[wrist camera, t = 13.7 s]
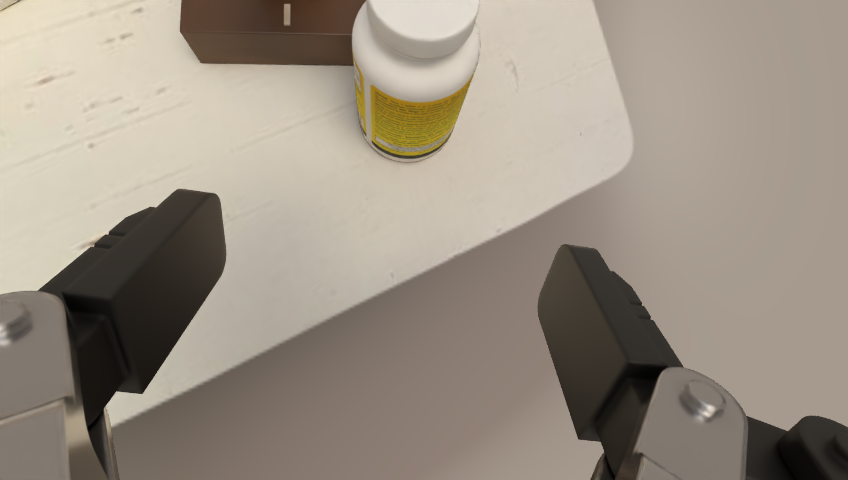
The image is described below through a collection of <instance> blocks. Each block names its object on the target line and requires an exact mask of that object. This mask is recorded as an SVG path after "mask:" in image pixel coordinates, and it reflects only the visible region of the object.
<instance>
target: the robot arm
mask: <svg viewBox="0 0 848 480" xmlns="http://www.w3.org/2000/svg"><path fill="white" fill-rule="evenodd" d="M225 262H226V244H225V236H224V227H223V219H222V210H221V203H220V199H219V197H218V196H217V195H216V194H214V193H208V192H200V191H193V190H186V189H177V190H176V191H174V192H173V193H172V194H171V195H170V196H169V197H168V198H166V199H165V200H164V201H163V202H162V203H161V204H160V205H159V206H157V207H156V208H155V207H149V208H147V209H144V210H142V211H140V212H138V213H135V214H133V215H131V216H128V217H126V218H125V219H124V220H122V221H121V222H120V223H119V224H118V225H116V226H115V227H114V228H113V229H112V230H110V231H109V235H104V236H103V237H102V238H101V239H100V240H98V241H97V242H96V243H95V246H94V247H90V248H89V249H87V250H86V251H85V252H84V253H83V254H81V255H80V256H79V257H78V258H77V259H75V260H74V261H73V262H72V263H71V264H69V265H68V266H67V267H66V268H65V269H63V270H62V271H61V272H60V273H59V274H57V275H56V276H55V277H54V278H52V279H51V280H50V281H49V282H48V283H46V284H45V285H44V286H43V287H42V288H40V289H39V290H38V291H20V292H12V293H7V294H2V295H0V480H119V474H118V468H117V462H116V456H115V450H114V444H113V438H112V433H111V426H110V420H109V414H108V411H107V409H106V405H107V403H108V402H109V401H110V399H111V398H112V397H113V395H114V394H115V392H116V391H119V392H129V393H138V394H143V392H144V391H145V389H146V388H147V386H148V385H149V383H150V382H151V380H152V379H153V377H154V376H155V374H156V373H157V371H158V370H159V368H160V367H161V365H162V364H163V362H164V361H165V359H166V358H167V356H168V355H169V353H170V352H171V350H172V349H173V347H174V346H175V344H176V343H177V341H178V340H179V338H180V337H181V335H182V334H183V332H184V331H185V329H186V328H187V326H188V325H189V323H190V322H191V320H192V319H193V317H194V316H195V314H196V313H197V311H198V310H199V308H200V307H201V305H202V304H203V302H204V301H205V299H206V298H207V296H208V295H209V293H210V292H211V290H212V289H213V287H214V286H215V284H216V283H217V281H218V280H219V278H220V277H221V275H222V272H223V270H224V266H225ZM538 317H539V320H540V323H541V326H542V329H543V332H544V335H545V339H546V341H547V345H548V348H549V351H550V354H551V357H552V360H553V363H554V366H555V369H556V372H557V375H558V378H559V382H560V384H561V388H562V391H563V394H564V397H565V400H566V403H567V406H568V409H569V412H570V415H571V418H572V421H573V424H574V427H575V431H576V434H577V437H578V439H580V440H589V441H599V442H601V444H602V446H603V449H604V453H603V454H602V456H601V457H600V459H599V461H598V462H597V465H596V467H595V470H594V472H593V475H592V477H591V480H848V427H846V426H844V425H842V424H840V423H837V422H835V421H833V420H830V419H827V418H823V417H819V416H806V417H804V418H802V419H801V420H800V421H799V422H798V423H797V424H796V425H795V426H793V427H792V428H791V429H790V430H789V431H786V430H783V429H780V428H778V427H775V426H772V425H770V424H767V423H764V422H762V421H759V420H756V419H753V418H751V417H748V416H746V415H745V413H744V411H743V409H742V407H741V406H740V404H739V403H738V402H737V401H736V400H735V398H734V397H733V396H732V395H731V394H730V393H729V392H728V391H727V390H726V389H724V388H723V387H722V386H721V385H719V384H718V383H716V382H715V381H714V380H712V379H710V378H709V377H707V376H705V375H703V374H701V373H699V372H696V371H694V370H690V369H687V368H684V367H683V365H682V364H681V362H680V361H679V359H678V358H677V356H676V355H675V353H674V351H673V350H672V349H671V347H670V345H669V344H668V342H667V341H666V339H665V338H664V336H663V335H662V333H661V331H660V330H659V328H658V327H657V326H656V324H655V322H654V321H653V320H651V319H650V318H651V316H650V315H649V313H648V311H647V310H646V308H645V307H644V306H642V302H641V301H640V299H639V298H638V296H637V295H636V293H635V291H634V290H633V288H632V287H631V286H630V285H629V284H628V283H626V282H625V281H624V280H623V279H622V278H621V277H620V276H619V275H617V274H616V273H615V272H613V271H610V270H609V268H608V266H607V265H606V263H605V262H604V260H603V258H602V257H601V255H600V253H599V252H598V251H597V250H596V249H594V248H588V247H581V246H574V245H567V244H564V245H562V246H561V247H560V248H559V249H558V251H557V253H556V256H555V258H554V260H553V263H552V265H551V268H550V270H549V273H548V275H547V277H546V280H545V282H544V285H543V287H542V289H541V292H540V296H539V300H538Z"/></svg>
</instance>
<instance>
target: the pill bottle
mask: <svg viewBox="0 0 848 480" xmlns="http://www.w3.org/2000/svg"><path fill="white" fill-rule="evenodd" d="M479 6H480V0H366V2H365V3H364V4H363V6H362V7H361V9H360V10H359V12H358V14H357V16H356V19H355V22H354V26H353V32H352V52H353V63H354V74H355V86H356V96H357V106H358V116H359V122H360V127H361V130H362V132H363V135H364V137H365V138H366V140H367V141H368V143H369V144H370V145H371V146H372V147H373V148H374V149H375V150H376V151H377V152H378V153H380V154H381V155H383V156H385V157H387V158H389V159H392V160H395V161H401V162H415V161H420V160H423V159H426V158H428V157H431V156H432V155H434V154H436V153H437V152H438V151H439V150H441V149H442V147H443V146H444V145H445V144H446V142H447V141H448V139H449V137H450V135H451V133H452V131H453V129H454V126H455V123H456V120H457V118H458V115H459V112H460V110H461V107H462V104H463V102H464V99H465V96H466V94H467V91H468V88H469V86H470V83H471V80H472V78H473V75H474V72H475V70H476V67H477V64H478V59H479V55H480V34H479V30H478V26H477V24H476V18H477V14H478V10H479Z"/></svg>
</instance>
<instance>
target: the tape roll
mask: <svg viewBox="0 0 848 480" xmlns="http://www.w3.org/2000/svg"><path fill="white" fill-rule="evenodd" d="M17 1H18V0H0V10H2V9H4V8H6V7H8V6H10V5H12V4H13V3H15V2H17Z"/></svg>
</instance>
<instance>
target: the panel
mask: <svg viewBox="0 0 848 480" xmlns="http://www.w3.org/2000/svg"><path fill="white" fill-rule="evenodd" d="M365 2H366V0H182V3H181V20H180V32H181V34H182V35H183V37H184V38H185V40H186V41H187V43H188V44H189V46H190V47H191V49H192V50H193V52H194V53H195V55H196V56H197V58H198V59H199V61H200V62H201V63H243V64H313V65H354V63H353V52H352V32H353V26H354V22H355V19H356V16H357V14H358V12H359V10H360V9H361V7H362V6H363V4H364V3H365Z"/></svg>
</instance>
